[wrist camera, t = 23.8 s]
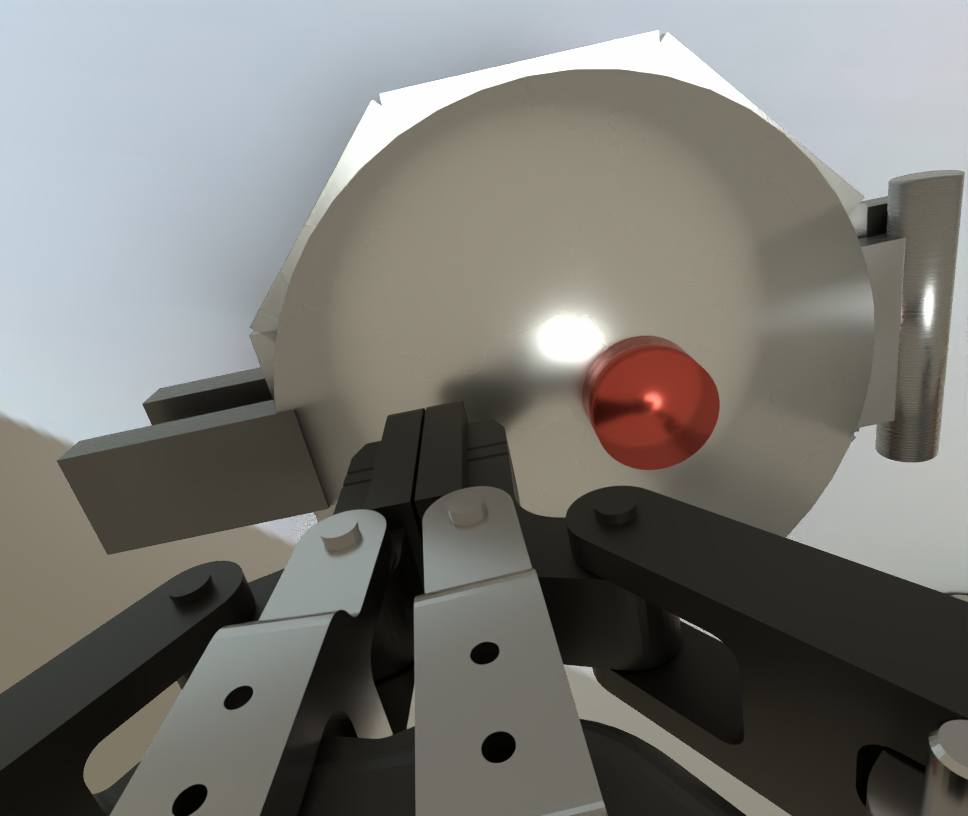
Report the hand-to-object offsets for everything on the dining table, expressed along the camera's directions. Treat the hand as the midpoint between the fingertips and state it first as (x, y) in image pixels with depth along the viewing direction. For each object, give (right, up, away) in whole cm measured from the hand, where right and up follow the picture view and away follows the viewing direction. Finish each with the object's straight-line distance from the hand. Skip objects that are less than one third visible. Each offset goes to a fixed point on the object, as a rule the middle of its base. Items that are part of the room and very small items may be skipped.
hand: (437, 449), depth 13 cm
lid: (+1, +1, +2) cm, 2 cm away
